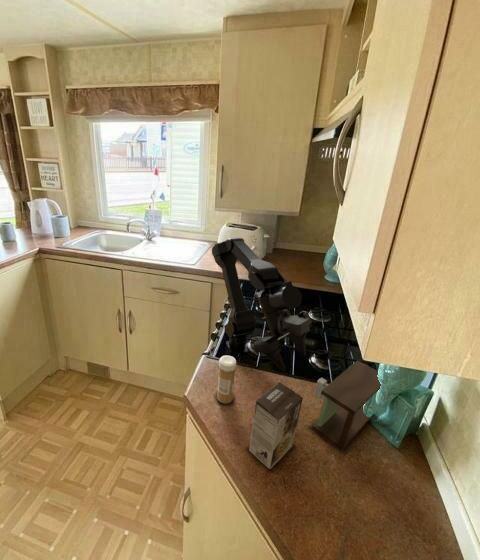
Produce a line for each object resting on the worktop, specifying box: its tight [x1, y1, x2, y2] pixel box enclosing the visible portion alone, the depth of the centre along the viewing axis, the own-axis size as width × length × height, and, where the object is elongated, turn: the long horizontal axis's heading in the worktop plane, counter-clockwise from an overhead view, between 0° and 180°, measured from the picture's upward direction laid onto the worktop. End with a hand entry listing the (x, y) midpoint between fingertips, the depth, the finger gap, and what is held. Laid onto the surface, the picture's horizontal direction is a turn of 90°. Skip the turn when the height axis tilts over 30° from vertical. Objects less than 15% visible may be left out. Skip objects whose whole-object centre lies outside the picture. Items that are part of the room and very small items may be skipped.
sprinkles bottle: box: [216, 355, 237, 404], centre depth 86 cm, size 5×5×13 cm
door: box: [313, 377, 339, 427], centre depth 81 cm, size 5×8×10 cm, turn 129°
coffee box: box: [248, 381, 304, 470], centre depth 71 cm, size 9×6×16 cm
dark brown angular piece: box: [311, 360, 381, 451], centre depth 80 cm, size 8×18×13 cm, turn 129°
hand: (294, 364), depth 86 cm, fingers open, 9 cm apart
